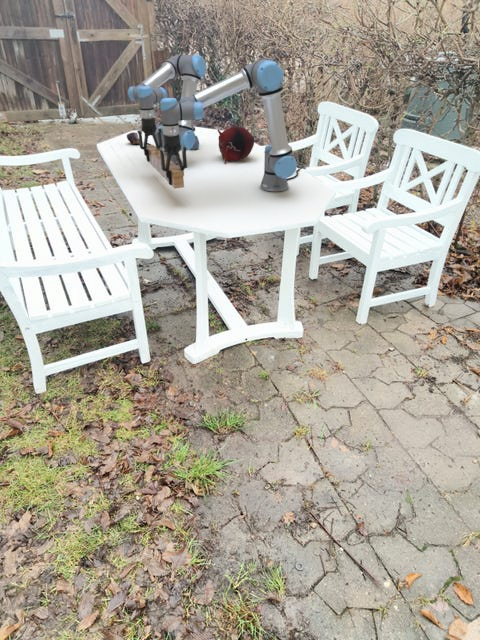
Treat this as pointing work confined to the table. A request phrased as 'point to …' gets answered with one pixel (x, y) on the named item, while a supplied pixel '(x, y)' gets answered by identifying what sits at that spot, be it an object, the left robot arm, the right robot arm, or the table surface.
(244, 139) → the decorative skull
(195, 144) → the koala plush
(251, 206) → the table surface
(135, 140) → the rock
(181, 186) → the post
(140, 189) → the table surface
